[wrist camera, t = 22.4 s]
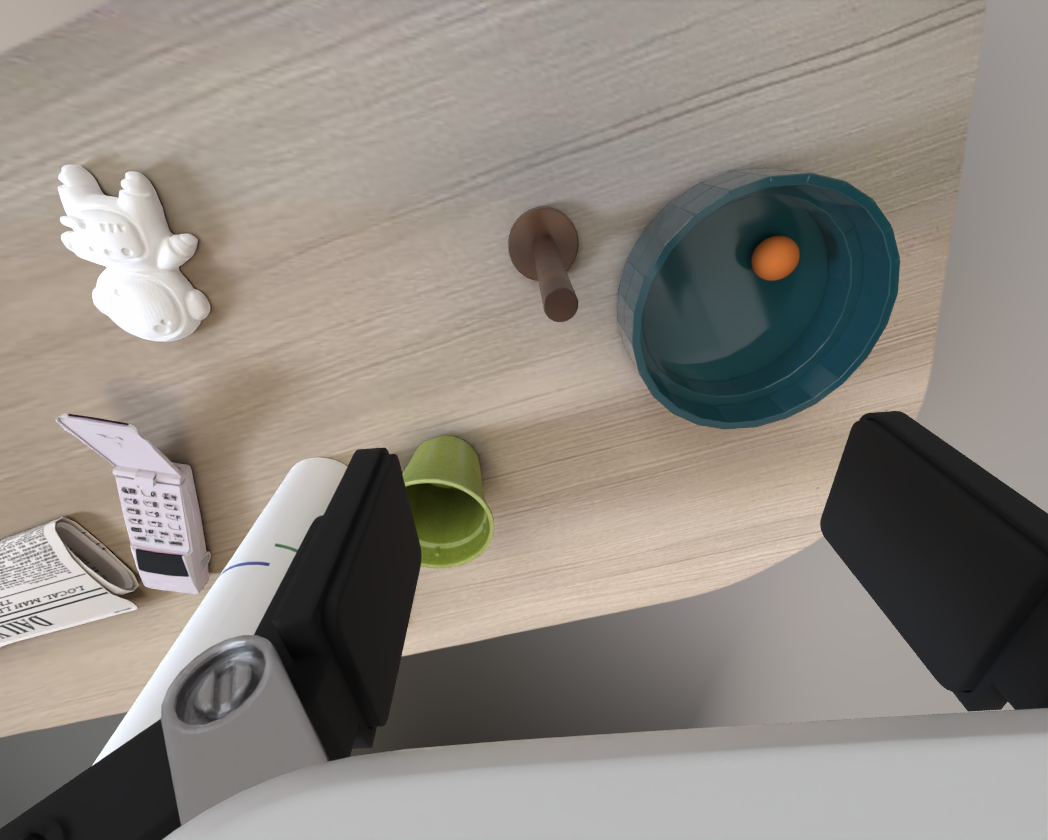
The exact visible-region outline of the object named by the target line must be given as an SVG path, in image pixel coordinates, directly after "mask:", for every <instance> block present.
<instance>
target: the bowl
mask: <svg viewBox="0 0 1048 840" xmlns="http://www.w3.org/2000/svg"><path fill="white" fill-rule="evenodd" d="M772 236H786V237H788V238H790V239H792V240H793V241H794V242H795V243H796V244H797V246H798V248H799V253H800V257H799V262H798V264H797V266H796V268H795V269H794V270H793V272H791V273H790V274H789V275H788V276H786V277H784V278H782V279H779V280H774V281H769V280H765V279H762V278H760V277H759V276H758V275H757V274H756V273H755V272H754V270H753V268H752V263H751V260H752V255H753V252H754V250H755V249H756V247H757V246H758V245H759V244H760V243H761V242H762V241H764V240H765V239H767V238H769V237H772ZM899 258H900V257H899V253H898V249H897V245H896V241H895V237H894V233H893V229H892V226H891V224H890V223H889V222H888V220H887V219H886V217H885V216H884V214H883V213H882V211H881V210H880V209H879V207H878V206H877V204H876V203H875V201H874V200H873V199H872V198H870V197H869V196H867V195H866V194H864V193H863V192H861V191H860V190H858V189H857V188H855V187H854V186H852V185H851V184H849V183H848V182H846V181H843V180H839V179H835V178H830V177H826V176H822V175H818V174H813V173H807V172H799V171H790V170H781V169H772V168H758V169H745V170H734V171H730V172H728V173H725V174H722V175H719V176H717V177H714V178H711V179H708V180H706V181H703V182H700V184H697V185H695V186H694V187H692V188H691V189H689V190H688V191H686V192H685V193H684V194H682V195H681V196H679V197H678V198H676V199H675V200H673V201H672V202H670V203H669V204H668V205H667V206H666V207H665V208H664V209H663V210H662V211H661V212H660V213H659V214H658V215H657V216H656V218H655V219H654V220H653V221H652V222H651V223H650V224H649V225H648V226H647V227H646V228H645V230H644V231H643V233H642V234H641V236H640V238H639V239H638V241H637V243H636V245H635V246H634V248H633V250H632V252H631V253H630V255H629V257H628V259H627V261H626V265H625V268H624V272H623V275H622V278H621V282H620V285H619V289H618V306H617V319H618V320H617V321H618V325H619V329H620V333H621V337H622V341H623V344H624V347H625V348H626V350H627V352H628V354H629V356H630V358H631V360H632V361H633V363H634V365H635V367H636V369H637V371H638V372H639V374H640V376H641V378H642V379H643V381H644V382H645V384H646V386H647V387H648V389H649V391H650V392H651V394H652V396H653V397H654V398H656V399H657V400H658V401H659V402H660V403H661V404H662V405H664V406H665V407H666V408H667V409H668V410H669V411H670V412H672V413H673V414H675V415H677V416H679V417H682V418H684V419H686V420H688V421H691V422H693V423H695V424H698V425H702V426H708V427H714V428H720V429H737V428H751V427H758V426H762V425H765V424H769V423H772V422H776V421H779V420H783V419H786V418H788V417H790V416H792V415H794V414H796V413H798V412H800V411H802V410H804V409H806V408H808V407H810V406H812V405H814V404H816V403H818V402H819V401H820V400H822V399H823V398H824V397H826V396H827V395H828V394H830V393H831V392H832V391H834V390H835V389H836V388H838V387H839V386H840V385H842V384H843V383H844V382H845V381H846V380H847V379H848V378H849V377H850V376H851V374H852V373H853V372H854V371H855V370H856V369H857V368H858V367H859V366H860V365H861V363H862V362H863V361H864V360H865V359H866V358H867V357H868V355H869V354H870V352H871V351H872V349H873V347H874V346H875V344H876V342H877V341H878V339H879V337H880V336H881V334H882V332H883V331H884V329H885V327H886V325H887V323H888V320H889V317H890V315H891V312H892V309H893V306H894V303H895V300H896V297H897V294H898V293H897V292H898V282H899V266H900V259H899Z"/></svg>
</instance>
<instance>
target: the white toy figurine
mask: <svg viewBox="0 0 1048 840" xmlns="http://www.w3.org/2000/svg"><path fill="white" fill-rule="evenodd" d="M59 180H60V181H61V182H63V183H64V184H65V185H62V186H59V187H58V190H59V194H60V198H61V201H62V204H63V206H64V209H65V211H66V213H67V215H68V216H62V217H60V221H61V223H62V224H63V225H65V226H68V227H70V228H73V230H74V231H67V232H64V233H63V234H62V235H61V240H62V242H63V243H64V245H65V246H66V247H67V248H68V249H69V250H71V251H73V252H75V254H76V255H77V256H79V257H81V258H83V259H86V260H88V261H91V262H94V263H97V264H100V265H104V266H106V267H107V268H106V269H105V270H104V271H103V272H102V273H101V275H100V276H99V278H98V280H97V287H96V288H95V289H94V290H93V293H92V297H93V302H94V304H95V306H96V307H97V308H98V309H99V310H100V311H101V312H103V313H104V314H106V315H108V316H109V317H110V318H111V319H112V320H113V321H114V322H115V323H116V324H117V325H118V326H119V327H121V328H122V329H123V330H125V331H127V332H128V333H130V334H133V335H135V336H137V337H140V338H143V339H147V340H152V341H158V342H171V341H176V340H180V339H182V338H185V337H187V336H189V335H190V334H192V333H193V332H194V331H195V330H196V329H197V328H198V327H199V325H200V323H201V320H203V319H204V318H206V317H207V316H208V315H209V313H210V304H209V301H208V299H207V298H206V296H205V295H204V294H203V293H202V292H201V291H199V290H197V289H194V288H193V287H192V285H191V283H190V282H189V281H188V280H187V279H186V278H185V277H184V276H183V275H182V273H181V272H180V270H179V266H181V265H183V264H184V263H185V262H186V261H187V260H189V259H190V258H191V257H192V256H193V255H194V253H195V251H196V248H197V244H198V240H197V238H196V237H194V236H193V235H191V234H178V235H174V234H172V233H171V232H170V230H169V228H168V225H167V221H166V219H165V215H164V212H163V207H162V205H161V203H160V201H159V198H158V196H157V193H156V191H155V189H154V187H153V186H152V184H151V183H150V181H149V180H148V179H147V178H146V177H145V176H144V175H142V174H141V173H138V172H135V171H129V172H127V173H126V174H125V179H123V180H122V181H121V186H122V187H123V188H124V190H120V191H119V198H118V197H113V196H106V195H104V193H103V192H102V191H101V189H100V187H99V185H98V183H97V181H96V180H95V178H94V177H93V176H92V175H91V173H89V172H88V171H87V170H86V169H85V168H83V167H81V166H78V165H65V166H63V167H62V171H61V173H60V174H59Z"/></svg>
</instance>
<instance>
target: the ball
mask: <svg viewBox="0 0 1048 840" xmlns="http://www.w3.org/2000/svg"><path fill="white" fill-rule="evenodd" d="M799 257H800V253H799V248H798V246H797V244H796V243H795V242H794V241H793V240H792V239H790V238H788V237H786V236H772V237H769V238H767V239H765V240H764V241H762V242H761V243H760V244H759V245H758V246H757V247H756V249H755V250H754V252H753V255H752V260H751V263H752V268H753V270H754V272H755V273H756V274H757V275H758V276H759V277H760V278H762V279H765V280H769V281H774V280H779V279H782V278H784V277H786V276H788V275H789V274H790V273H791V272H793V270H794V269H795V268H796V266H797V264H798V262H799Z"/></svg>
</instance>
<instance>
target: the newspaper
mask: <svg viewBox="0 0 1048 840" xmlns="http://www.w3.org/2000/svg"><path fill="white" fill-rule="evenodd" d="M138 586H139V584H138V582H137V580H136V578H135V575H134V573H133V572H132V571H131V570H130V569H129V568H127V567H126V566H125V565H124V564H123V563H122V562H121V561H120V560H119V559H118V558H117V557H116V556H115V555H114V554H113V553H112V552H110V551H109V550H108V549H107V548H106V547H105V546H104V545H103V544H102V543H101V542H100V541H98V540H97V539H96V538H95V537H93V536H92V535H91V534H90V533H89V532H87V531H86V530H85V529H84V528H82V527H81V526H80V525H79V524H78V523H76V522H74V521H72V520H69V519H67V518H64V517H61V518H59V519H56V520H53V521H51V522H48V523H45V524H42V525H40V526H37V527H34V528H32V529H29V530H26V531H23V532H21V533H18V534H15V535H13V536H10V537H7V538H4V539H2V540H0V647H1V646H4V645H7V644H10V643H13V642H17V641H21V640H25V639H28V638H32V637H36V636H40V635H43V634H47V633H51V632H54V631H58V630H62V629H66V628H69V627H73V626H77V625H81V624H84V623H88V622H92V621H95V620H99V619H103V618H107V617H110V616H114V615H118V614H122V613H125V612H129V611H133V610H136V609H137V606H136V605H135V604H133V603H132V602H130V601H129V600H126V599H123V598H121V597H118V596H120V595H123V594H126V593H129V592H132V591H135V590H136V588H137V587H138Z"/></svg>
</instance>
